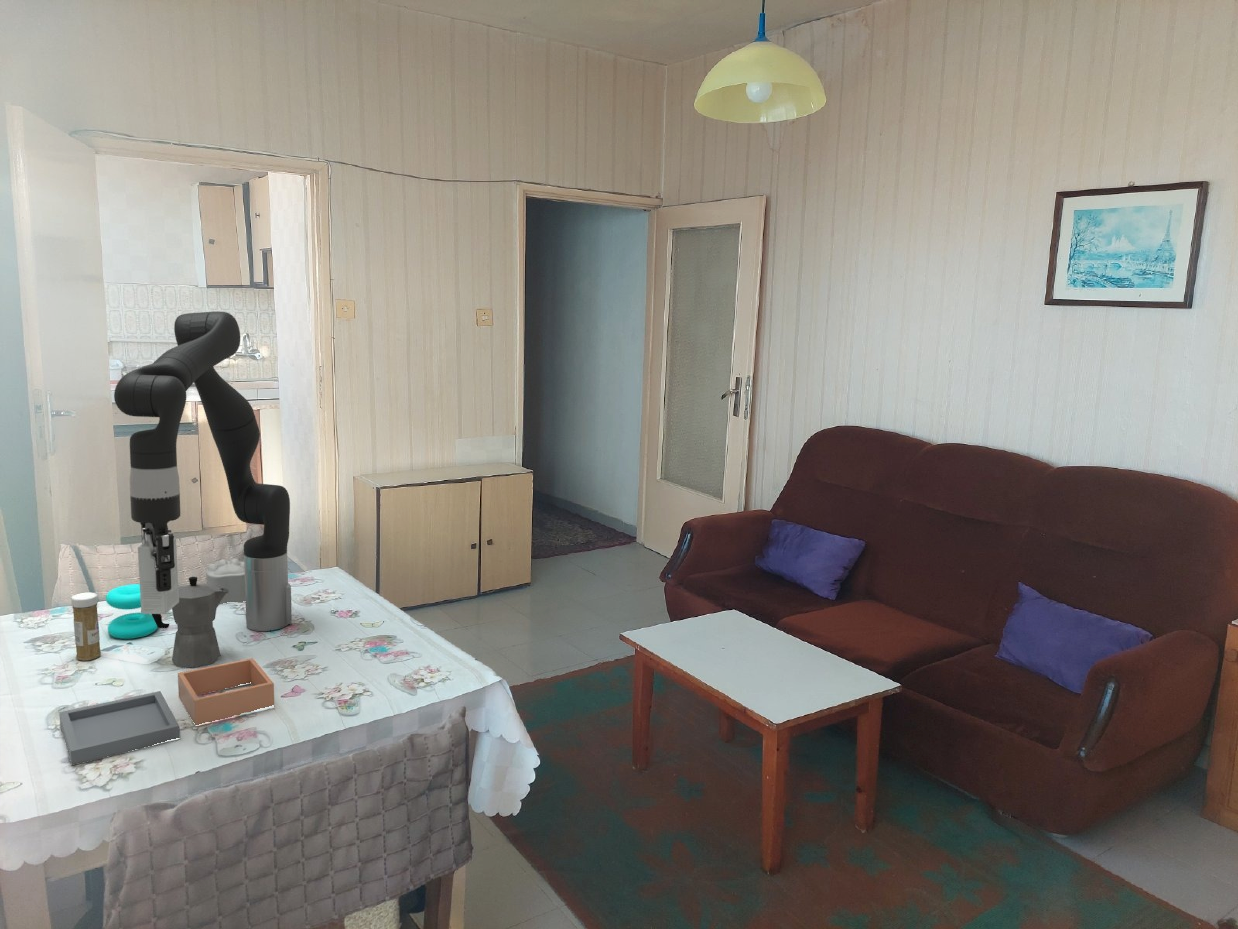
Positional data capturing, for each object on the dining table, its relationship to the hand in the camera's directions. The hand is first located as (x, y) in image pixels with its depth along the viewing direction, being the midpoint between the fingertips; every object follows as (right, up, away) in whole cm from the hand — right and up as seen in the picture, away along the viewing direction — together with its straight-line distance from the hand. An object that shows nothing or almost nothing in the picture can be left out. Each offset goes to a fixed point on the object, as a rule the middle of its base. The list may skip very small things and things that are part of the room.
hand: (158, 584), depth 153 cm
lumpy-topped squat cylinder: (-18, -12, +69) cm, 73 cm away
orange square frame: (+6, -24, +12) cm, 28 cm away
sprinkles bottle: (-30, -19, +29) cm, 46 cm away
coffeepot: (-9, -20, +30) cm, 38 cm away
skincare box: (0, -4, +1) cm, 5 cm away
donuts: (-28, -17, +43) cm, 54 cm away
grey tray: (-7, -26, 0) cm, 27 cm away
